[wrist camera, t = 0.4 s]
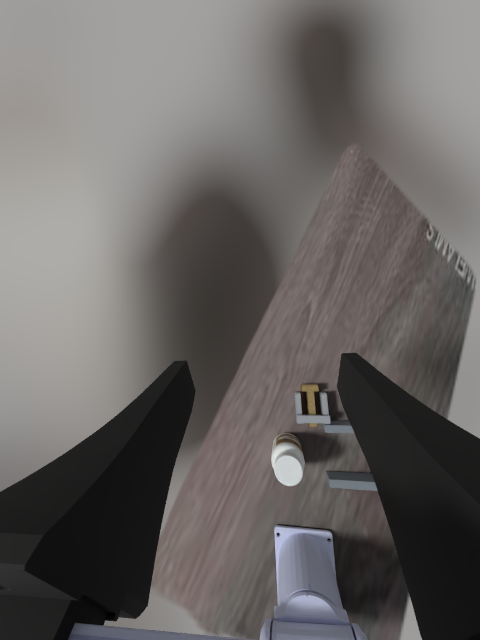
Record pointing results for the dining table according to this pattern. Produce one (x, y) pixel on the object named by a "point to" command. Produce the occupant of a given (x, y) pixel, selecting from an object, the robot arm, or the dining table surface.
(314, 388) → the lock bar
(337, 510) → the dining table surface
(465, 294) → the dining table surface
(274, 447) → the pill bottle
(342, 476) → the dock bay
